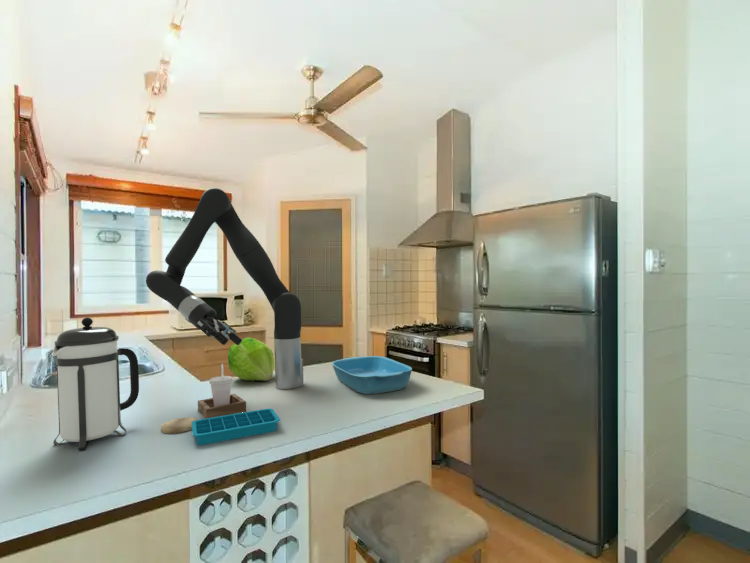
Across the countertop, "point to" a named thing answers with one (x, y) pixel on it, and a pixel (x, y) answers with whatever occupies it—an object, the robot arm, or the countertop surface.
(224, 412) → the square wooden frame
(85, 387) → the coffee press
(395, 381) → the casserole dish
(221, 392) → the smoothie
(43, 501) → the countertop surface
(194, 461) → the countertop surface
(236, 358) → the lettuce
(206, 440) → the ice cube tray
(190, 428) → the trivet
